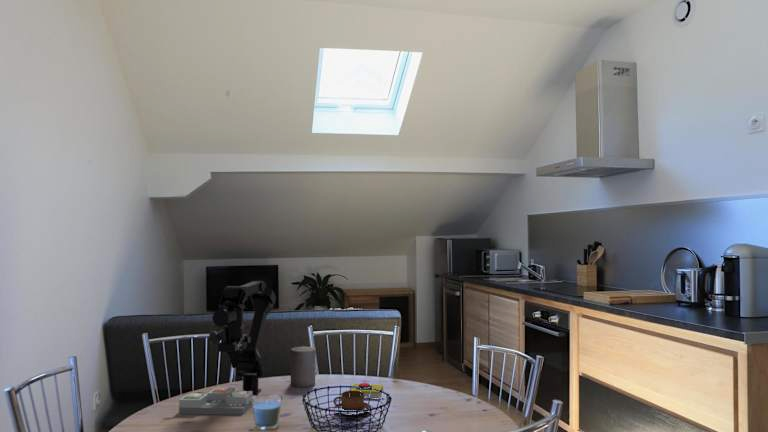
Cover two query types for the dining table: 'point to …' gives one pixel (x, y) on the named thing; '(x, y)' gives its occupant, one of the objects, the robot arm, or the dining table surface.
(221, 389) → the terracotta button
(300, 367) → the pillar candle
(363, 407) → the cup and saucer
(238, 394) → the cream button
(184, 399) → the button panel
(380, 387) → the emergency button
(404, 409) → the dining table surface
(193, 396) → the sage button
